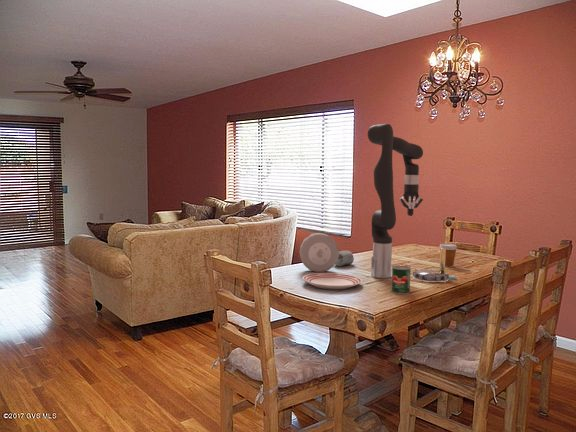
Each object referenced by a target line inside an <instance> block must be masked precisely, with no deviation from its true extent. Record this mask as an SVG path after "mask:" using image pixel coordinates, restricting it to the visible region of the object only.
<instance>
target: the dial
mask: <svg viewBox="0 0 576 432" xmlns="http://www.w3.org/2000/svg"><path fill="white" fill-rule="evenodd" d="M339 252H340V251H339V247H338V245H337V242H336V241H335V239H334V238H332V237H331V236H330V235H328V234H326V233H322V232H315V233H310V234H309V235H307V236H306V237H305V238H304V239H303V240H302V242H301V244H300V246H299V257H300V260H301V262H302V264H303V265H304V267H305V268H306V269H307V270H309V271H311V272H313V273H326V272H327V271H330V270H331V269H332V268H333V267H334V266H336V265H335V264H336V262H337V260H338V256H339Z"/></svg>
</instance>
